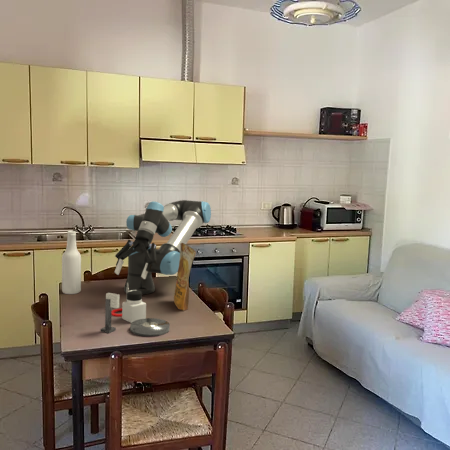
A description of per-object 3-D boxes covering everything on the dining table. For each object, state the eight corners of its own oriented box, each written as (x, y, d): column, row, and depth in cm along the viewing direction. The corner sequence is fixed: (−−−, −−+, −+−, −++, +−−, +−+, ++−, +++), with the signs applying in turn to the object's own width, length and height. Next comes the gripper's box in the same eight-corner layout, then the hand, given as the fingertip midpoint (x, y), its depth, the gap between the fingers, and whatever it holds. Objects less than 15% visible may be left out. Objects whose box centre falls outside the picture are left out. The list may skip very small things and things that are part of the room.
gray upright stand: (107, 328, 181) (107, 291, 179) (120, 330, 179) (120, 294, 177) (100, 331, 177) (100, 294, 176) (113, 334, 175) (114, 296, 173)
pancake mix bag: (185, 299, 224) (187, 241, 221) (194, 311, 206) (196, 249, 203) (171, 299, 223) (173, 242, 219) (179, 312, 204) (181, 249, 201)
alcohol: (79, 294, 225) (79, 232, 221) (60, 294, 224) (60, 232, 220) (82, 289, 233) (82, 230, 230) (63, 289, 232) (63, 229, 228)
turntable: (144, 320, 192) (144, 316, 191) (176, 326, 186) (176, 322, 186) (122, 332, 178) (122, 326, 178) (156, 339, 172) (156, 333, 172)
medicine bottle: (146, 319, 193) (146, 291, 191) (131, 323, 188) (132, 294, 186) (136, 315, 198) (136, 287, 196) (121, 318, 193) (122, 290, 191)
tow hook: (119, 319, 194) (136, 313, 201) (118, 289, 192) (135, 284, 199) (106, 314, 199) (123, 309, 206) (105, 285, 197) (122, 280, 204)
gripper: (119, 226, 213) (101, 268, 204) (167, 231, 204) (151, 276, 195) (126, 234, 219) (109, 275, 210) (173, 240, 210) (158, 283, 201)
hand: (129, 275), depth 203 cm, fingers open, 13 cm apart
